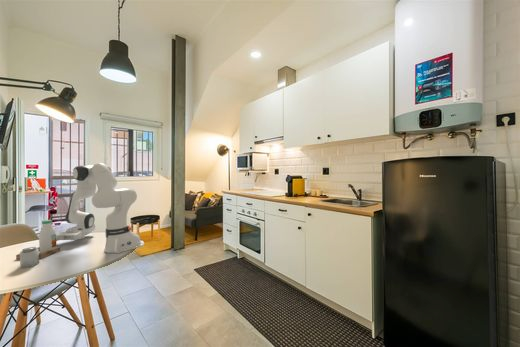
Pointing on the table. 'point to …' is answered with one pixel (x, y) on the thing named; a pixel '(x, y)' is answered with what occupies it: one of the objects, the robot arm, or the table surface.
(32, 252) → the grey jar
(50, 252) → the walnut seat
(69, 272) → the table surface
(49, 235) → the milk bottle
